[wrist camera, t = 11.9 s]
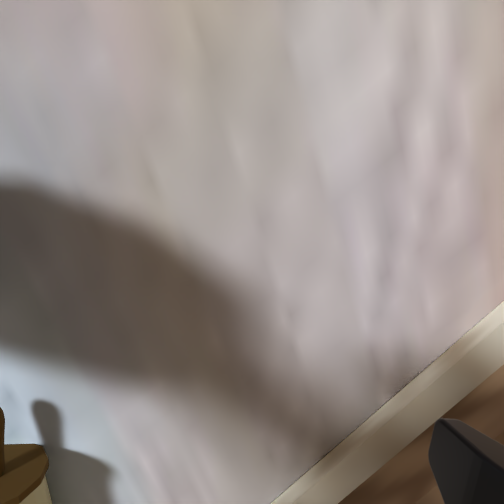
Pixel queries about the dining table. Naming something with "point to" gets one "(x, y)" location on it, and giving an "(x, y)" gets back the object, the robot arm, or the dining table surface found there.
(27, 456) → the rolling pin
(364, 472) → the ridge stand
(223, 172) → the dining table surface
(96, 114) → the dining table surface
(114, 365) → the dining table surface
